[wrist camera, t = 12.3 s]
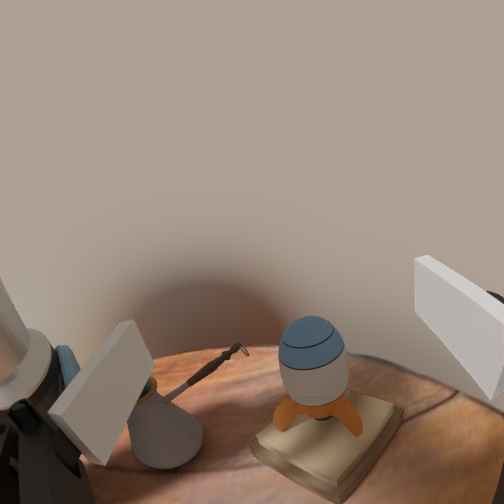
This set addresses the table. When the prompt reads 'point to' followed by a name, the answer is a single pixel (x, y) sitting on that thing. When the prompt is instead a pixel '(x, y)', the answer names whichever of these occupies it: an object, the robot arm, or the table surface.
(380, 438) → the pad
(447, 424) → the table surface
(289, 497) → the table surface
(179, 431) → the coffee pot
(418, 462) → the table surface
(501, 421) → the table surface
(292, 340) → the toy rocket
